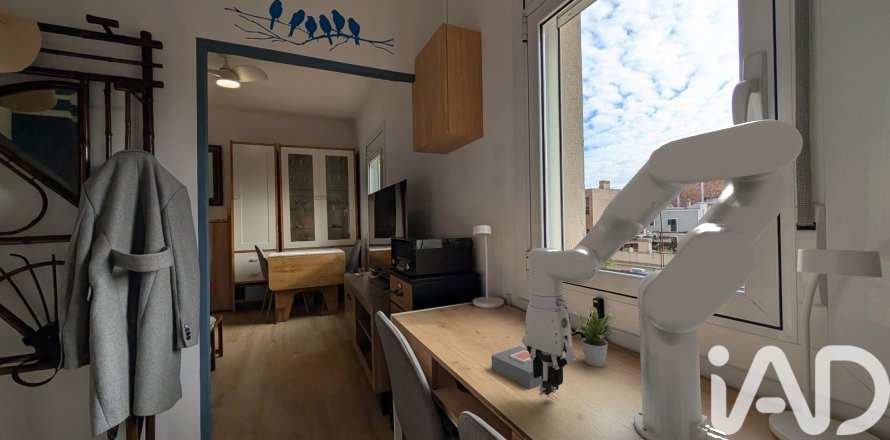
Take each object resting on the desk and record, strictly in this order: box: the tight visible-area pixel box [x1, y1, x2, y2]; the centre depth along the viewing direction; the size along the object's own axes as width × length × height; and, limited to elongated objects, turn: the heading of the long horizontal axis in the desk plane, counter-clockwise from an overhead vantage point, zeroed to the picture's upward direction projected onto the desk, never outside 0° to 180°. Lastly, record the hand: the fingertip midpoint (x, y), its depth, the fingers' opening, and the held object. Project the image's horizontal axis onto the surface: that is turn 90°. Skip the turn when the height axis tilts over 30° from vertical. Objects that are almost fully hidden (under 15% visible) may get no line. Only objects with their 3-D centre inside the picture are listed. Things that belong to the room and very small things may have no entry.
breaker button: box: [510, 350, 533, 365], centre depth 90 cm, size 5×6×4 cm
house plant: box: [572, 307, 619, 368], centre depth 94 cm, size 14×14×16 cm
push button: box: [537, 350, 560, 396], centre depth 74 cm, size 7×5×10 cm
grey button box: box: [491, 345, 542, 389], centre depth 89 cm, size 14×12×4 cm
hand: (547, 379), depth 74 cm, fingers closed on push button, 4 cm apart
